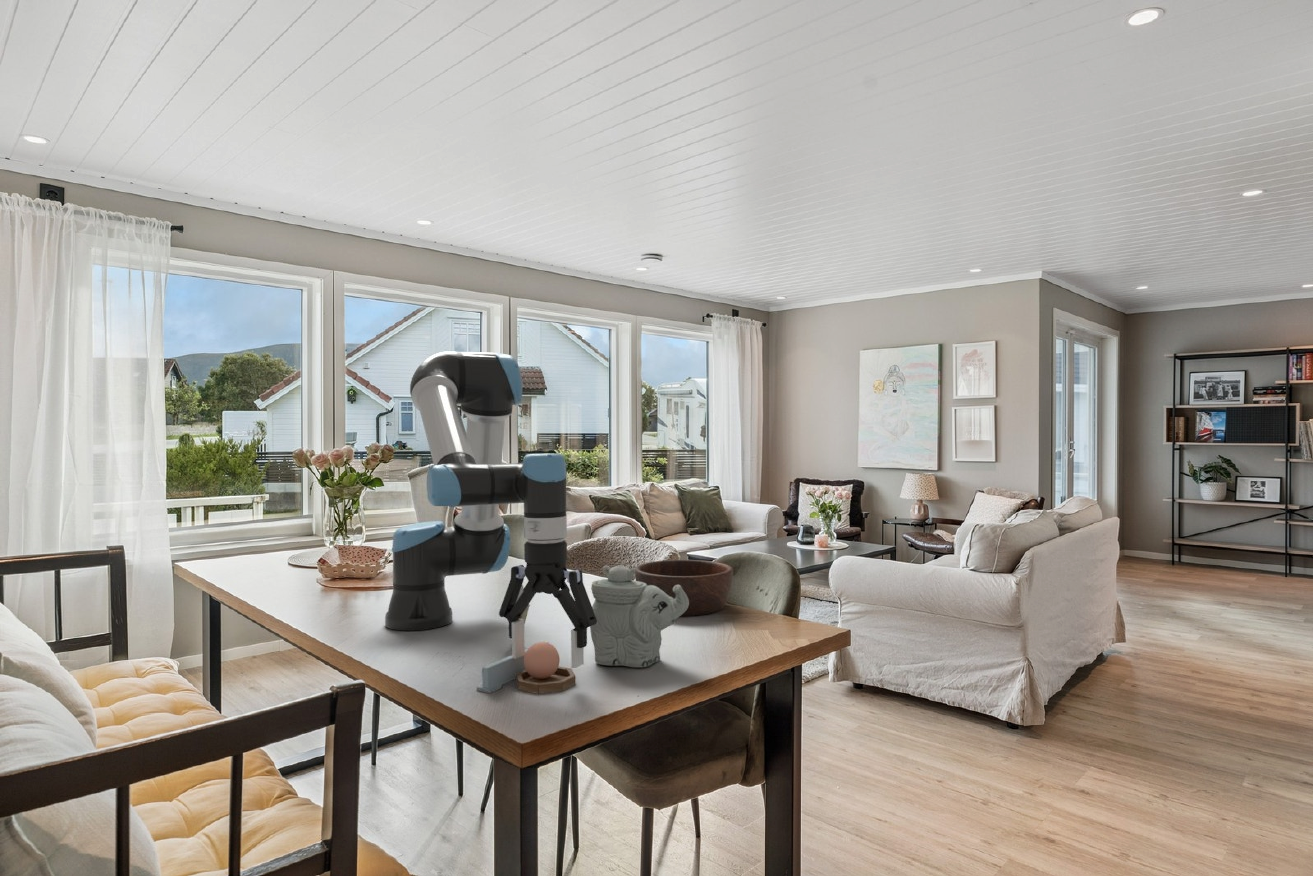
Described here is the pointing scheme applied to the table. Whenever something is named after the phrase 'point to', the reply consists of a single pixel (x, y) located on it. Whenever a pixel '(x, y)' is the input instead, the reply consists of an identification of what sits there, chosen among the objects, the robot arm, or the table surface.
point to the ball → (541, 660)
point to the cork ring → (546, 681)
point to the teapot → (631, 618)
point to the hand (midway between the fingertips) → (547, 661)
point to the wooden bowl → (690, 582)
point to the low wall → (500, 673)
